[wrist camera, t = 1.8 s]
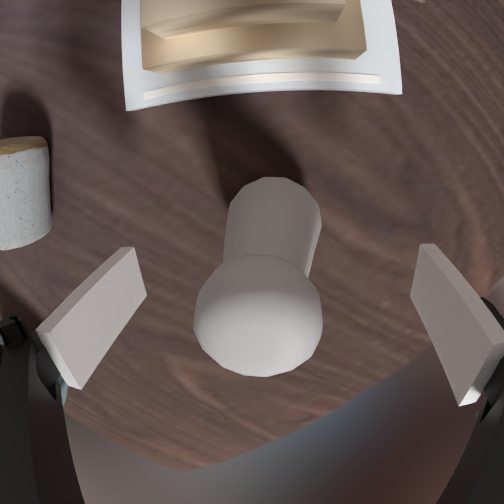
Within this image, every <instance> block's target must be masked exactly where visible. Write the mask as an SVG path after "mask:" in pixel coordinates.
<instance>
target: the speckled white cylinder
mask: <svg viewBox="0 0 504 504" xmlns="http://www.w3.org/2000/svg"><path fill="white" fill-rule="evenodd" d="M51 227H52V216H51V204H50V185H49V150H48V144H47V141H46V140H45V139H44V138H43V137H40V136H22V137H12V138H5V139H0V250H9V249H13V248H19V247H23V246H25V245H28V244H30V243H33V242H35V241H37V240H39V239H41V238H42V237H43V236H45V235H46V234H47V233H48V232H49V231H50V229H51Z"/></svg>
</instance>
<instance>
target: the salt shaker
mask: <svg viewBox="0 0 504 504" xmlns="http://www.w3.org/2000/svg"><path fill="white" fill-rule="evenodd" d="M321 227H322V224H321V217H320V210H319V205H318V204H317V203H316V201H315V200H314V199H313V197H312V196H311V195H310V193H309V192H308V191H307V190H306V188H305V187H303V186H301V185H299V184H297V183H295V182H293V181H292V180H290V179H288V178H286V177H263V178H260V179H258V180H256V181H254V182H252V183H249V184H247V185H245V186H243V187H242V189H241V190H240V191H239V192H238V194H237V195H236V196H235V197H234V199H233V200H232V201H231V203H230V206H229V211H228V216H227V221H226V231H225V242H224V253H223V264H221V265H220V266H218V268H217V269H216V270H215V271H214V273H213V274H212V275H211V276H210V277H209V279H208V280H207V281H206V282H205V283H204V285H203V287H202V288H201V290H200V292H199V293H198V297H197V303H196V309H195V316H194V323H193V330H194V332H195V335H196V337H197V339H198V341H199V343H200V345H201V347H202V349H203V350H204V351H205V352H206V353H207V354H209V355H210V356H211V357H212V358H213V359H214V360H215V361H216V362H218V363H219V364H220V365H221V366H222V367H224V368H227V369H229V370H232V371H234V372H237V373H239V374H242V375H248V376H260V377H268V376H272V375H276V374H280V373H283V372H287V371H290V370H293V369H294V368H296V367H297V366H299V365H300V364H302V363H303V362H304V361H306V360H307V359H309V358H310V357H311V356H312V355H313V352H314V350H315V348H316V346H317V344H318V342H319V340H320V338H321V333H322V327H323V321H322V312H321V304H320V298H319V294H318V290H317V289H316V287H315V286H314V285H313V284H312V282H311V281H310V280H309V279H308V275H309V271H310V267H311V263H312V259H313V255H314V251H315V248H316V244H317V241H318V237H319V234H320V230H321Z"/></svg>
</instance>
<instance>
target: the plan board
mask: <svg viewBox="0 0 504 504" xmlns="http://www.w3.org/2000/svg"><path fill="white" fill-rule="evenodd" d="M360 3H361V9H362V16H363V23H364V30H365V38H366V46H367V51H365V52H364V53H363V54H362V55H360V56H359V57H358V58H357V59H355V60H349V59H326V58H293V59H269V60H255V61H244V62H234V63H226V64H218V65H211V66H204V67H198V68H192V69H187V70H181V71H176V72H171V73H167V74H160V73H156V72H152V71H148V70H144V69H142V52H141V24H140V0H122V8H121V30H122V62H123V79H124V92H125V103H126V111H134V110H139V109H143V108H148V107H153V106H158V105H163V104H168V103H173V102H179V101H185V100H191V99H198V98H205V97H213V96H221V95H230V94H240V93H252V92H266V91H288V90H338V91H359V92H374V93H385V94H395V95H399V94H402V82H401V69H400V59H399V49H398V41H397V34H396V27H395V21H394V15H393V9H392V3H391V0H360Z"/></svg>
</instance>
